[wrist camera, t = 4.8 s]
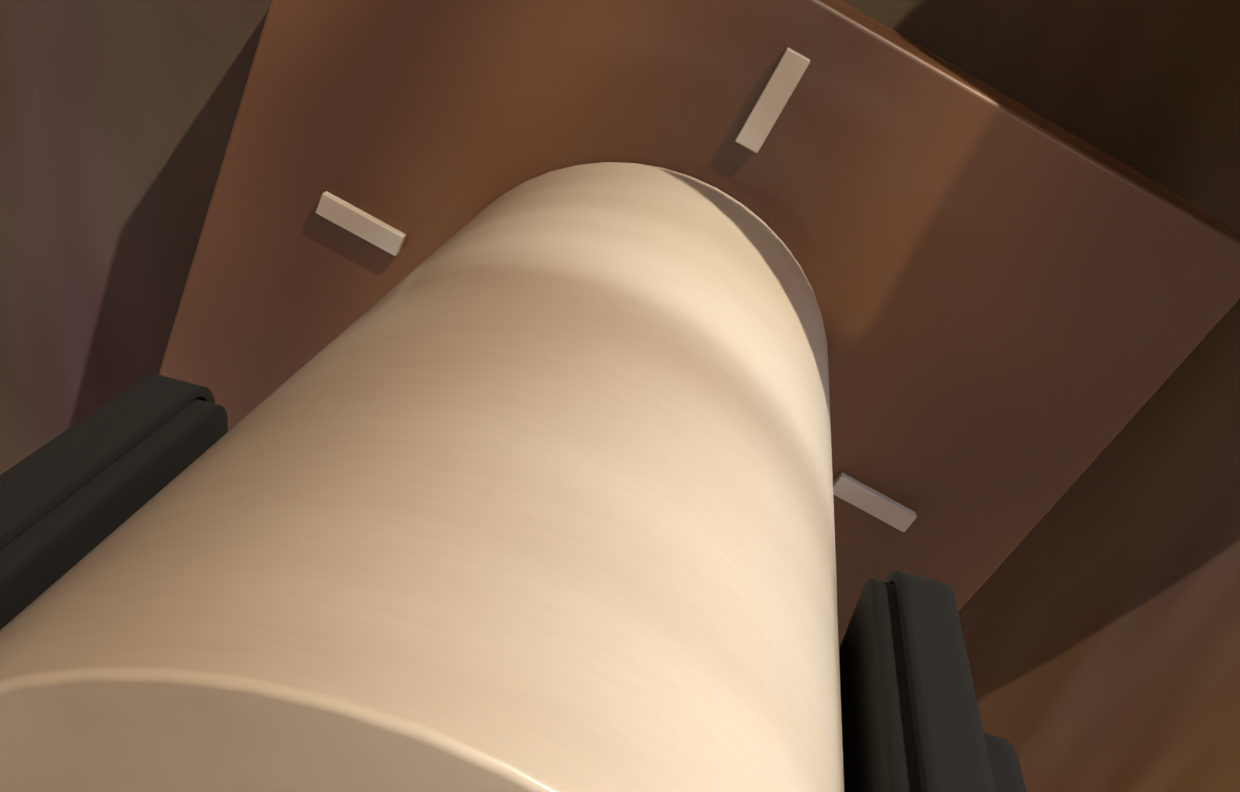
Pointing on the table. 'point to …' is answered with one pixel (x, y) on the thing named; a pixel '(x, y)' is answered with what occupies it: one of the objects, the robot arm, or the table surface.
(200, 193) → the table surface
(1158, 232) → the brown square plate
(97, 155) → the table surface
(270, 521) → the rotary dial knob
